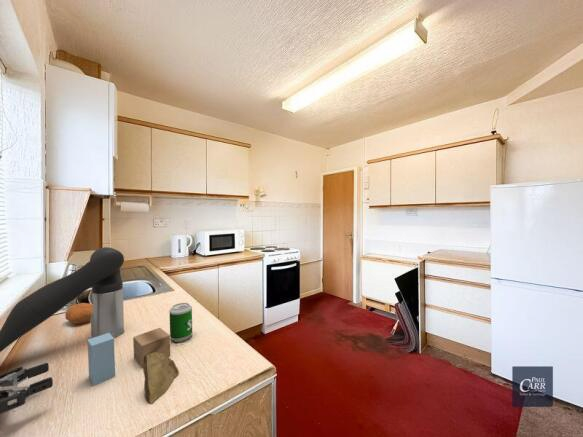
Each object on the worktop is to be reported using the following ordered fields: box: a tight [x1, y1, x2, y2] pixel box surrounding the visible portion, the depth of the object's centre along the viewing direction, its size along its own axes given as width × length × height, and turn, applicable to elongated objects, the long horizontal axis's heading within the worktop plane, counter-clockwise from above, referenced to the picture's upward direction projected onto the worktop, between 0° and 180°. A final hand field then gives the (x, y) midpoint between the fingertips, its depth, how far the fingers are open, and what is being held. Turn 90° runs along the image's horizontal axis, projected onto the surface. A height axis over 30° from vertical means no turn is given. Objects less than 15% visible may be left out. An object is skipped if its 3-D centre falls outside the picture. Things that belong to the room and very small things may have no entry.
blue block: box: [87, 333, 116, 386], centre depth 68 cm, size 5×5×11 cm
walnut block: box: [132, 327, 171, 369], centre depth 77 cm, size 8×8×7 cm
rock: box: [142, 352, 180, 405], centre depth 65 cm, size 11×9×10 cm
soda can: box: [168, 302, 193, 343], centre depth 89 cm, size 8×8×12 cm
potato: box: [64, 302, 93, 324], centre depth 103 cm, size 9×11×8 cm
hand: (50, 373), depth 60 cm, fingers open, 8 cm apart
